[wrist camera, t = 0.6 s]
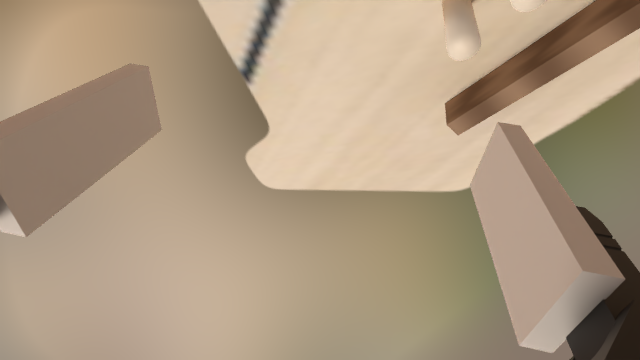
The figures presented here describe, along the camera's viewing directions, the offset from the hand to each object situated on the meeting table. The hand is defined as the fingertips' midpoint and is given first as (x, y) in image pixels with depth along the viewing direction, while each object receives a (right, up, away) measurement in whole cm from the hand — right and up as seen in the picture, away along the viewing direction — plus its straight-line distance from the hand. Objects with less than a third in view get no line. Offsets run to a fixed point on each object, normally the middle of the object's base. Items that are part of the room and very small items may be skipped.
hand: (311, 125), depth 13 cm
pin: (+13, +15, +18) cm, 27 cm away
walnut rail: (+22, +11, +20) cm, 32 cm away
